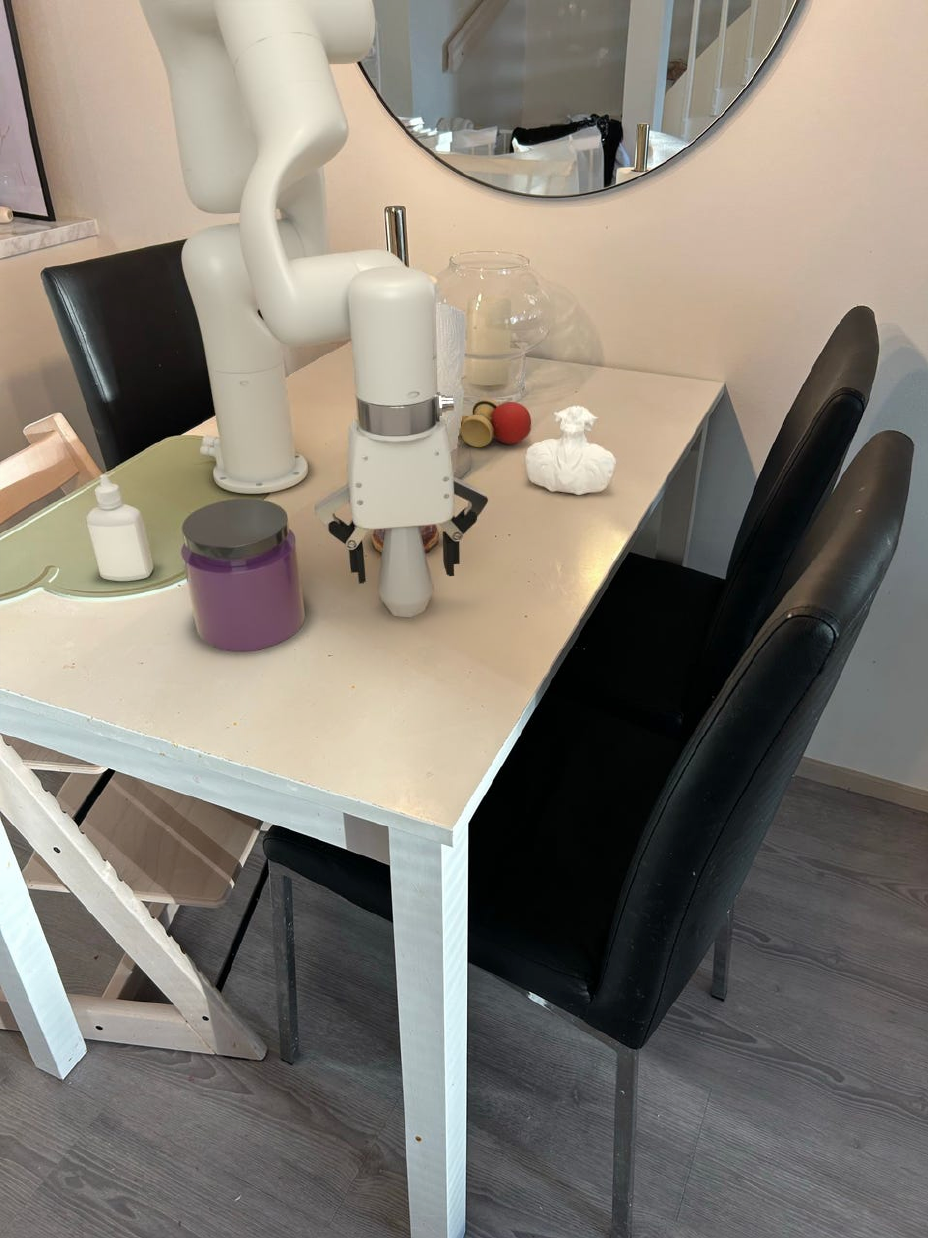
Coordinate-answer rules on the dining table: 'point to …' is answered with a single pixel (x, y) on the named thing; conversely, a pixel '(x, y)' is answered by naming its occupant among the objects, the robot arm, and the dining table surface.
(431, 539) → the pastry
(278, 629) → the jar
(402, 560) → the salt shaker
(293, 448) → the robot arm
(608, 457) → the bust
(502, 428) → the kendama
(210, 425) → the dining table surface
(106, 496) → the eye dropper bottle
